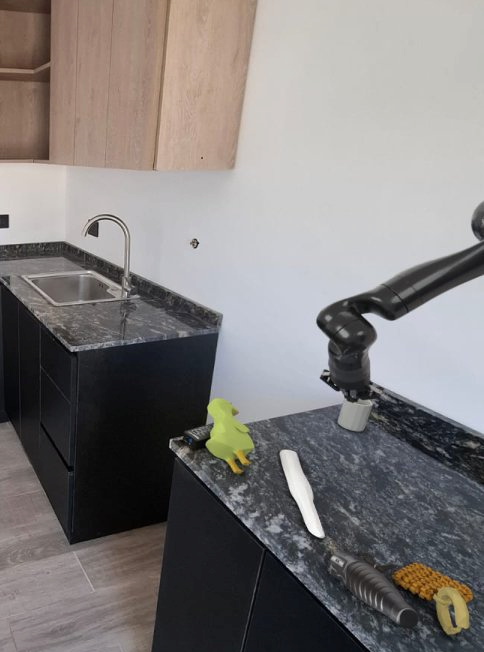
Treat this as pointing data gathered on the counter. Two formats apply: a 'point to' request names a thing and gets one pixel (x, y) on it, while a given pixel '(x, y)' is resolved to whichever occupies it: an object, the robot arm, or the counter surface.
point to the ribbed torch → (372, 585)
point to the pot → (355, 414)
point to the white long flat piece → (301, 491)
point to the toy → (228, 434)
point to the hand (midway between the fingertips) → (351, 398)
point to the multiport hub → (198, 436)
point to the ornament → (437, 593)
